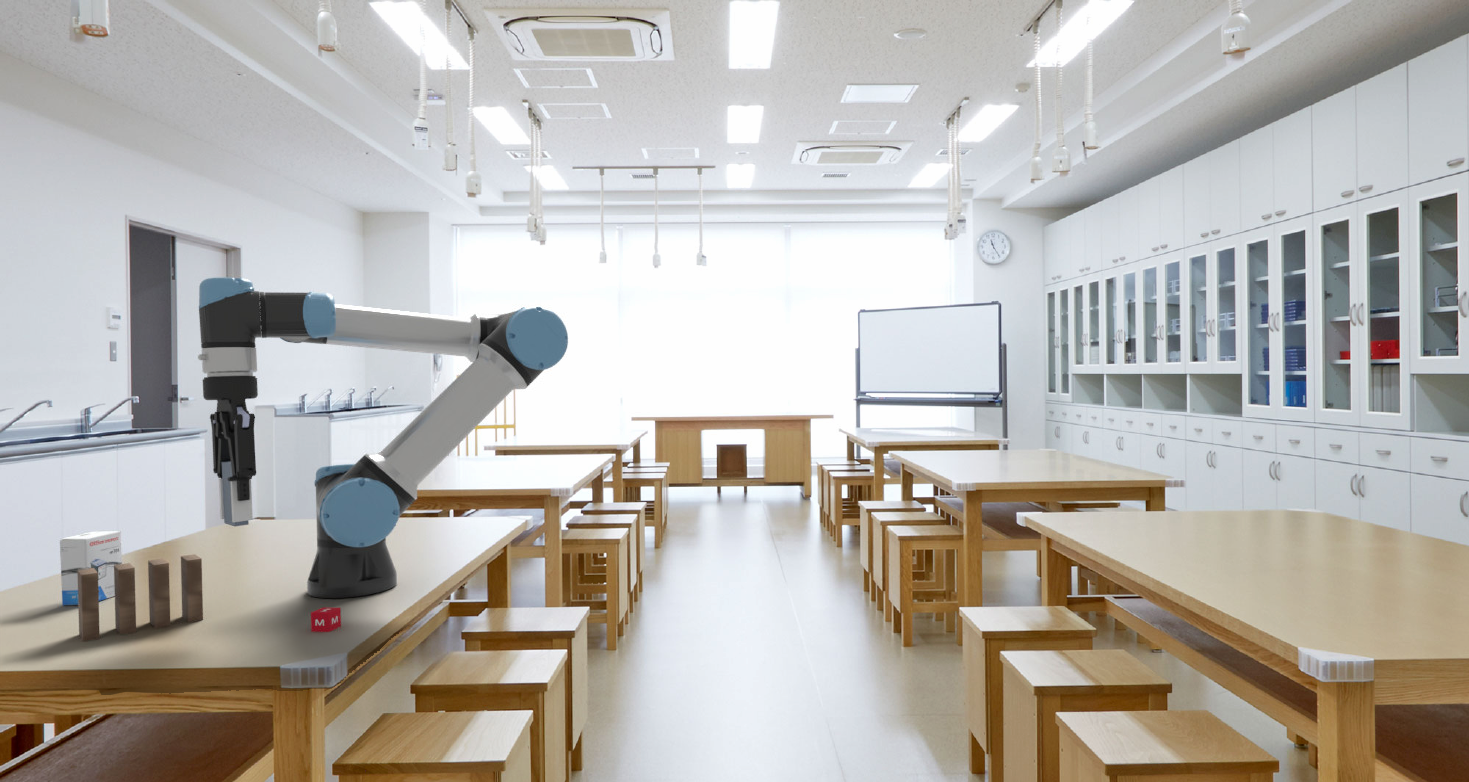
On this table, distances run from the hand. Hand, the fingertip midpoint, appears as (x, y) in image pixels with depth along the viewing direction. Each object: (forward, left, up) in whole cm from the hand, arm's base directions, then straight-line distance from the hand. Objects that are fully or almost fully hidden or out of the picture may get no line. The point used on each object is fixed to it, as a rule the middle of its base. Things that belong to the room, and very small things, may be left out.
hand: (236, 518), depth 135 cm
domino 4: (0, 0, -1) cm, 1 cm away
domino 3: (+9, -3, -17) cm, 19 cm away
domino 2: (+12, 0, -17) cm, 21 cm away
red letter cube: (-16, +6, -17) cm, 24 cm away
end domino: (+19, +6, -17) cm, 26 cm away
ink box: (+35, -18, -17) cm, 42 cm away
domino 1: (+16, +3, -17) cm, 23 cm away
